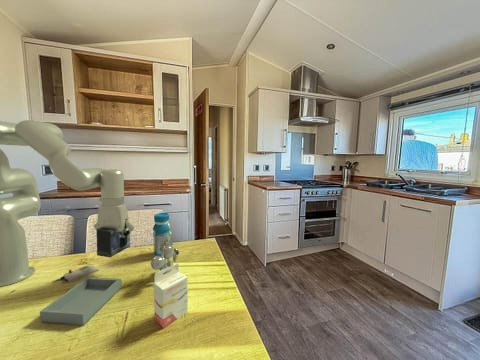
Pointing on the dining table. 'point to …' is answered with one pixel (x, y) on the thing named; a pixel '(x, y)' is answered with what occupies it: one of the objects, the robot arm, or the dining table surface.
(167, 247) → the robot toy
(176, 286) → the ink cartridge box
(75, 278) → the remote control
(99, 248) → the small box
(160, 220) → the beverage bottle
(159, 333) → the dining table surface
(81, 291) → the tray
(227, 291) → the dining table surface
